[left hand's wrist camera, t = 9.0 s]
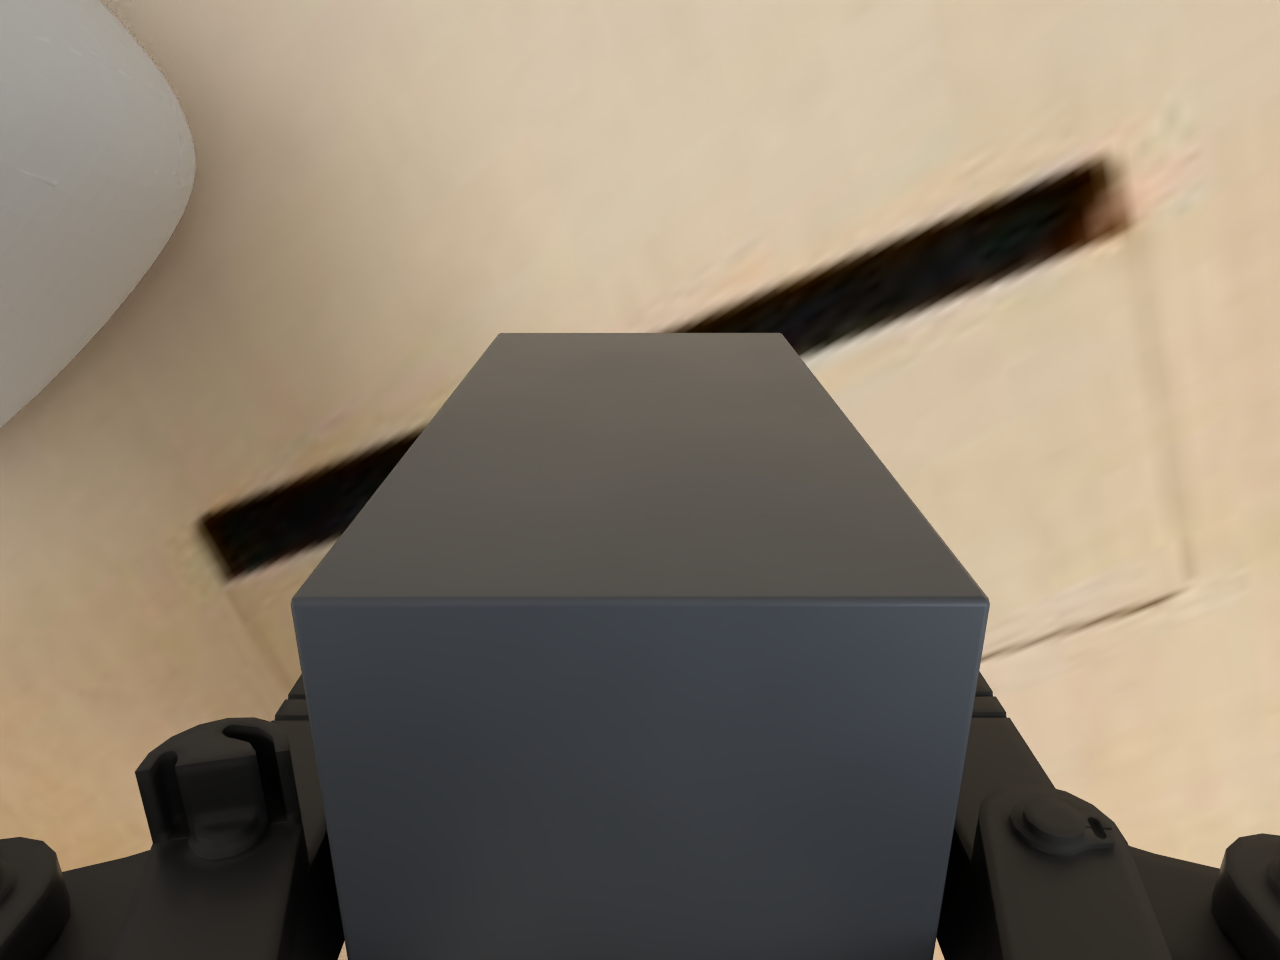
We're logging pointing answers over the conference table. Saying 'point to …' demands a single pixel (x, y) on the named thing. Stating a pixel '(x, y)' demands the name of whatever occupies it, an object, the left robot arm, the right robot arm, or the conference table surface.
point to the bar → (640, 670)
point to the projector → (78, 181)
